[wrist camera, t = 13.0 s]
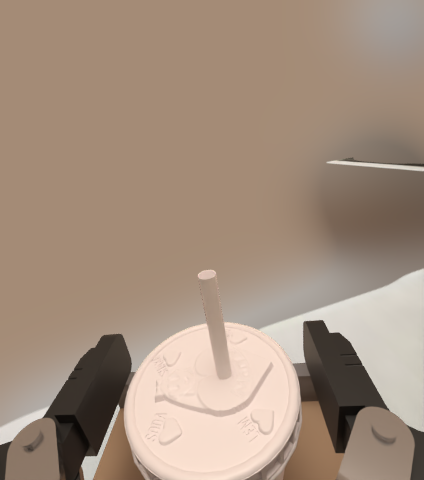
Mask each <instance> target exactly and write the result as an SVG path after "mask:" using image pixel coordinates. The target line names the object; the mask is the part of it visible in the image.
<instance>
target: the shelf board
mask: <svg viewBox="0 0 424 480" xmlns="http://www.w3.org/2000/svg"><path fill="white" fill-rule="evenodd" d="M293 366H294V368H295V371H296V374H297V377H298V381H299V387H300V396H301V408H302V424H301V429H300V433H299V437H298V442H297V446H296V449H295V450H294V452H293V454H292V456H291V457H290V459H289V461H288V463H287V464H286V466H285V470H284V476H283V480H335V479H336V477H337V475H338V472H339V469H340V466H341V463H342V460H343V456H344V453H335V450H334V447H333V444H332V441H331V438H330V435H329V432H328V429H327V426H326V423H325V420H324V417H323V414H322V411H321V408H320V404H319V401H318V398H317V395H316V392H315V389H314V386H313V383H312V380H311V377H310V374H309V371H308V368H307V365H306V363H297V364H293ZM135 373H136V372H130V375H129V377H128V380H127V382H126V385H125V387H124V390H123V392H122V395H121V397H120V400H119V402H118V404H119V407H120V411H119V413H118V416H117V418H116V421H115V424H114V426H113V429H112V431H111V434H110V437H109V439H108V442H107V444H106V447H105V450H104V452H103V455H102V457H101V460H100V463H99V465H98V468H97V470H96V473H95V476H94V478H93V480H145V478H144V477H143V475H142V473H141V472H140V470H139V469H138V467H137V466H136V464H135V462H134V459H133V455H132V451H131V447H130V443H129V441H128V438H127V435H126V430H125V424H124V406H125V399H126V395H127V391H128V388H129V385H130V383H131V381H132V378H133V376H134V375H135Z"/></svg>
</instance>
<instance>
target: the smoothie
mask: <svg viewBox="0 0 424 480" xmlns="http://www.w3.org/2000/svg"><path fill="white" fill-rule="evenodd" d="M198 279H199V285H200V290H201V295H202V300H203V305H204V310H205V316H206V321H207V323H206V324H200V325H197V326H193V327H190V328H188V329H185V330H183V331H180V332H178V333H176V334H174V335H173V336H171V337H170V338H168V339H166V340H165V341H164V342H162V343H161V344H160V345H159V346H157V347H156V348H155V349H154V350H153V351H152V352H151V353H150V354H149V355H148V356H147V357H146V358H145V360H144V361H143V362H142V363H141V365H140V367H139V368H138V369H137V371H136V373H135V375H134V376H133V378H132V381H131V383H130V385H129V388H128V391H127V395H126V399H125V406H124V424H125V430H126V435H127V438H128V441H129V443H130V447H131V451H132V455H133V459H134V462H135V464H136V466H137V467H138V469H139V470H140V472H141V473H142V475H143V477H144V478H145V480H283V476H284V470H285V466H286V464H287V463H288V461H289V459H290V457H291V456H292V454H293V452H294V450H295V449H296V446H297V442H298V437H299V433H300V429H301V424H302V408H301V396H300V387H299V381H298V377H297V374H296V371H295V368H294V366H293V364H292V362H291V360H290V358H289V357H288V355H287V354H286V352H285V351H284V350H283V349H282V347H281V346H280V345H279V344H278V343H277V342H275V341H274V340H273V339H272V338H270V337H269V336H268V335H266V334H264V333H263V332H261V331H259V330H257V329H254V328H252V327H249V326H246V325H242V324H237V323H230V322H224V321H223V315H222V309H221V303H220V296H219V291H218V284H217V278H216V273H215V271H213V270H205V271H202V272H200V273H199V275H198Z"/></svg>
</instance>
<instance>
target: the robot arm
mask: <svg viewBox="0 0 424 480" xmlns="http://www.w3.org/2000/svg"><path fill="white" fill-rule="evenodd" d="M303 348H304V357H305V361H306V365H307V368H308V371H309V374H310V377H311V380H312V383H313V386H314V389H315V392H316V395H317V398H318V401H319V404H320V408H321V411H322V414H323V417H324V420H325V423H326V426H327V429H328V432H329V435H330V438H331V441H332V444H333V447H334V450H335V453H344V456H343V460H342V463H341V466H340V469H339V472H338V475H337V477H336V479H335V480H424V432H421V431H418V430H416V429H414V428H411V427H410V426H408V425H406V424H405V423H404V422H403V421H402V420H401V419H400V418H399V417H398V416H396V415H395V414H393V413H392V412H390V410H389V409H388V408H387V406H386V405H385V403H384V401H383V400H382V398H381V396H380V394H379V392H378V391H377V389H376V387H375V385H374V384H373V382H372V380H371V378H370V377H369V375H368V373H367V371H366V370H365V368H364V366H362V363H361V361H360V359H359V357H358V356H357V354H356V352H355V350H354V348H353V347H352V345H351V343H350V342H349V341H348V340H347V339H346V338H345V337H343V336H342V335H341V334H340V333H329V331H328V329H327V327H326V325H325V323H324V321H323V320H318V321H304V323H303ZM131 365H132V363H131V357H130V354H129V351H128V349H127V346H126V343H125V340H124V338H123V336H122V335H121V334H113V335H104V336H102V337H101V339H100V341H99V342H98V344H97V346H96V347H95V348H91V349H90V350H89V351H88V352H87V353H86V354H85V355H84V356H83V357H82V358H81V359H80V361H79V362H78V364H77V365H76V367H75V368H74V371H73V372H72V373H71V375H70V376H69V378H68V380H67V381H66V382H65V384H64V386H63V387H62V389H61V391H60V392H59V393H58V395H57V396H56V398H55V400H54V401H53V403H52V404H51V406H50V407H49V409H48V411H47V412H46V414H45V415H44V417H43V418H42V419H38V420H36V421H34V422H32V423H30V424H29V425H27V426H26V427H25V428H24V429H23V430H21V431H20V432H19V433H18V435H17V436H16V437H15V438H14V440H13V441H11V442H8V443H5V444H2V445H0V480H84V476H83V470H82V467H81V465H82V462H83V460H84V458H85V456H97V455H98V452H99V450H100V447H101V445H102V442H103V440H104V437H105V435H106V432H107V430H108V427H109V425H110V422H111V420H112V417H113V415H114V412H115V410H116V407H117V405H118V402H119V400H120V397H121V395H122V392H123V390H124V387H125V385H126V382H127V380H128V377H129V375H130V372H131Z"/></svg>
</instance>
